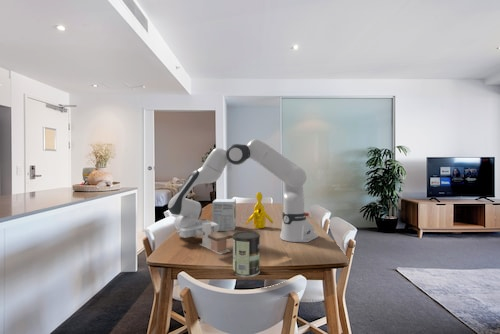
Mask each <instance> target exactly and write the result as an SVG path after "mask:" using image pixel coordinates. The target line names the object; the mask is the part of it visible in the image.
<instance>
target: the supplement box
mask: <svg viewBox="0 0 500 334" xmlns="http://www.w3.org/2000/svg"><path fill="white" fill-rule="evenodd" d="M211 208H212V210H211V213H212V214H211V216H212V217H211V220H212V221H211V222H214V223H217V224H218V225H219V230H218V231H217V232H226V231H231V230H236V227H237V199H235V198H215V199H214V200H213V201H212V205H211Z"/></svg>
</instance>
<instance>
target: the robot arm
mask: <svg viewBox="0 0 500 334" xmlns="http://www.w3.org/2000/svg"><path fill="white" fill-rule="evenodd" d="M248 159H250V160H253V161H255V163H258V165H260V166H261V167H263V168H264V169H266V170H267V171H268V172H269V173H271V174H273V176H275V177H276V178H278V180H280V181H282V191H283V192H282V193H283V195H282V197H283V206H282V207H283V211H282V222H281V229H280V231H281V232H280V234H279V236H280V237H279V239H281V240H282V241H285V242H292V243H308V242H311V241H313V240H315V239H317V238H319V234H318V233H316V232H315V227H314V225H313V223H311V222H310V221H309V220H307V217H310V213H309V212H305V196H304V195H305V193H304V184H305V183H306V181H307V173H306V171H305V170H304V169H303V168H302V167H301V166H299V165H297V164H296V163H295V162H293V161H291V160H290V159H288V158H287V157H285V156H284V155H282V154H281V153H279V151H278V150H275V149H274V148H273V147H271V145H268V144H267V143H265V142H263V141H262V140H259V139H257V138H254V139H251V140H250V141H249V142H247V144H240V143H234V144H231V145H230V146H229V147H228V148H227V149H223V148H220V147H215V148H214V149H212V151H211V152H210V153H209V154H208V156H207V158H206V159H205V160H204V163H203V164H202V166H201V167H200V168H198V169H197V170H193V171H192V172H191V173H190V175H188V177H187V178H186V179H185V181H184V182H183V183H182V185H181V186H180V187H179V189H178V190H177V192H176V193H175V194H174V195H173V196H171V198H170V199H169V201H168V204H167V209H168V211H169V213H170V214H172V215H174V216H176V217H175V218H174V220H173V223H174V226H175V229H177V230H175V232H176V233H177V234H179V236H180V237H182V238H184V239H185V238H191V237H193V238H194V237H195V238H196V237H197V236H203V235H205V232H204V231H202V223H211V234H214V233H218V232H219V231H218V230H219V225H218V224H217V223H214V222H212V221H211V220H209V219H206V218H205V219H200V218H201V216H202V213H203V207H202V204H201V202H199V201H197V200H194V199H190V198H186V197H187V196H188V195H189V194H190V192H191V191H192V189H193V188H194V187H195V186H197V185H200V184H201V185H202V184H212V183H215V182H217V181H218V180H219V179H220V177H221V176H222V174H223V171H224V170H225V168H226V167H227V165H228V164H232V165H237V166H240V165H242V164H244V163H245V162H246V161H247V160H248Z"/></svg>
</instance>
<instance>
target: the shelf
mask: <svg viewBox="0 0 500 334" xmlns="http://www.w3.org/2000/svg"><path fill="white" fill-rule="evenodd" d="M237 232H243V231H241V230H238V229H234V230H231V231H220V232H215V233H213V234H211V235H208V238H209V239H212V240H214V241H221V240H226V241H227V240H229V239H230V240H231V239H233V234H234V233H237Z"/></svg>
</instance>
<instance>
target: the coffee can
mask: <svg viewBox="0 0 500 334" xmlns="http://www.w3.org/2000/svg"><path fill="white" fill-rule="evenodd" d="M260 239H261V234H259V233H258V232H255V231H242V232H237V233H234V234H233V238H232V270H233V271H234V272H233V275H234V276H236V277H238V278H253V277H257V276H258V275H260V273H261V271H260V270H261V269H260V257H261V256H260V247H261V245H260V243H261V242H260V241H261V240H260Z"/></svg>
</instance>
